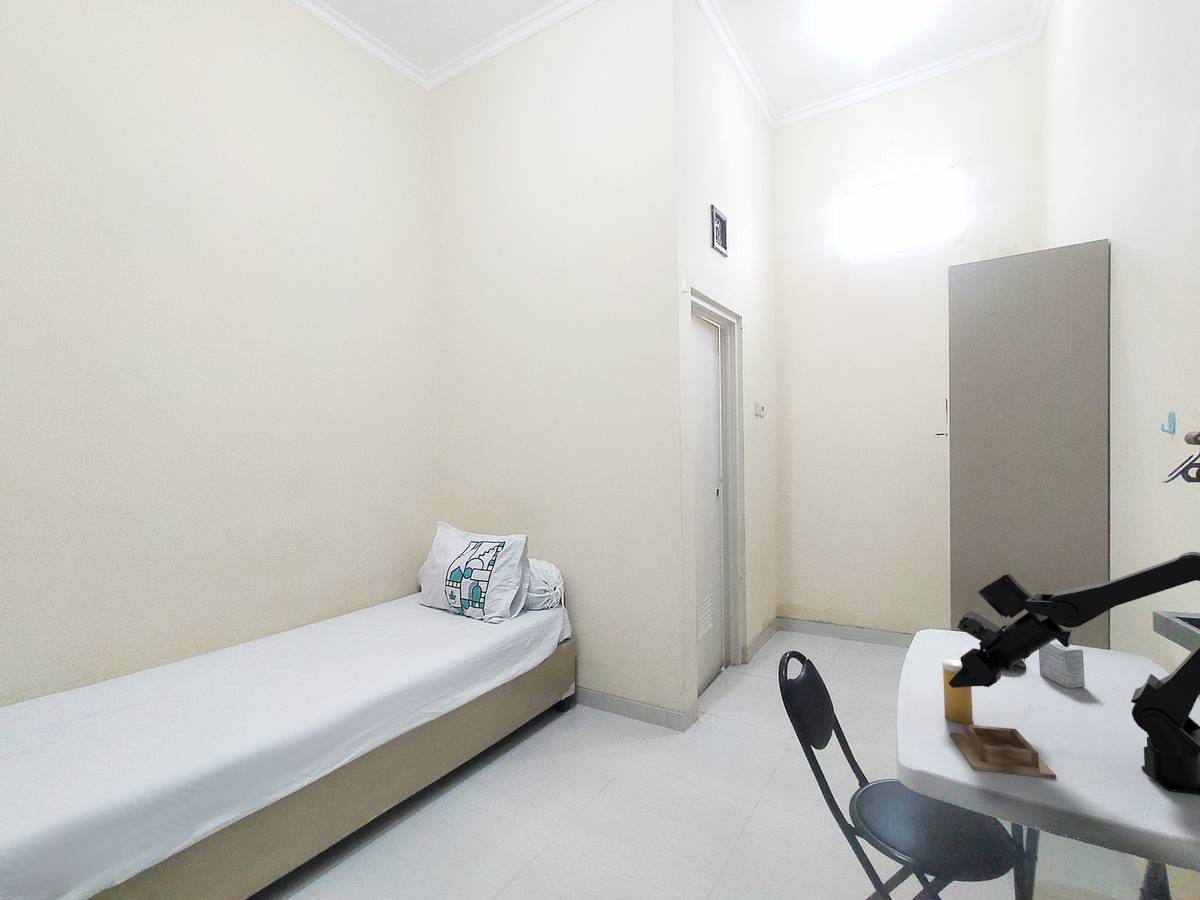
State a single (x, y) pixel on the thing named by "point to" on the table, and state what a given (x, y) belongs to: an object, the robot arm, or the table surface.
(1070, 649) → the medicine box
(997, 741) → the bottle holder
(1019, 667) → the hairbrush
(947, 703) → the pill bottle
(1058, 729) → the table surface
